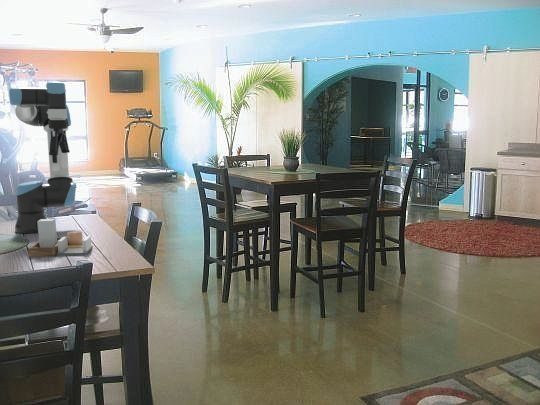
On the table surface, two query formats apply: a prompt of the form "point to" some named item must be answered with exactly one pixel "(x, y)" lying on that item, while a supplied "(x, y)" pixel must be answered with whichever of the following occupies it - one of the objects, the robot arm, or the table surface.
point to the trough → (43, 250)
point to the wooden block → (74, 238)
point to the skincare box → (47, 232)
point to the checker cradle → (74, 247)
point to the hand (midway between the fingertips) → (60, 169)
